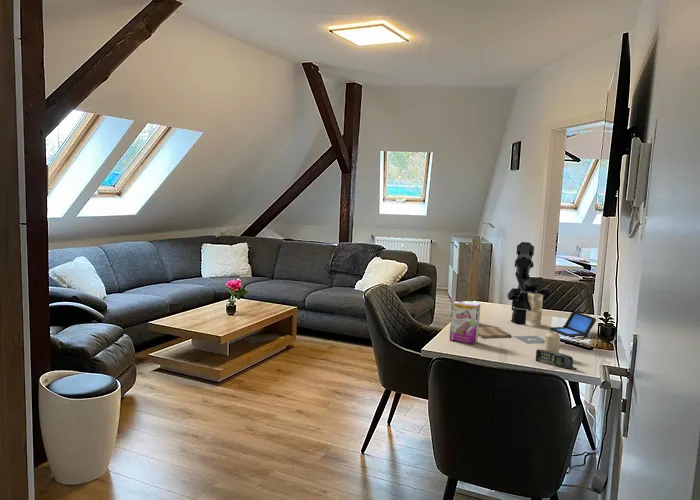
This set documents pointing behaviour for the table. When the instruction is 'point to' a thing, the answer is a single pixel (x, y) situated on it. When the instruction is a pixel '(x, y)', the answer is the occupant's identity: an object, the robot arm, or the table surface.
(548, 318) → the table surface
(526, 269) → the robot arm
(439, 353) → the table surface
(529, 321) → the birch block
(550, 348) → the candle
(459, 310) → the candy bar box
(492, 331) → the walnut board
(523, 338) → the gray mat
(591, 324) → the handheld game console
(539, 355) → the mobile phone
